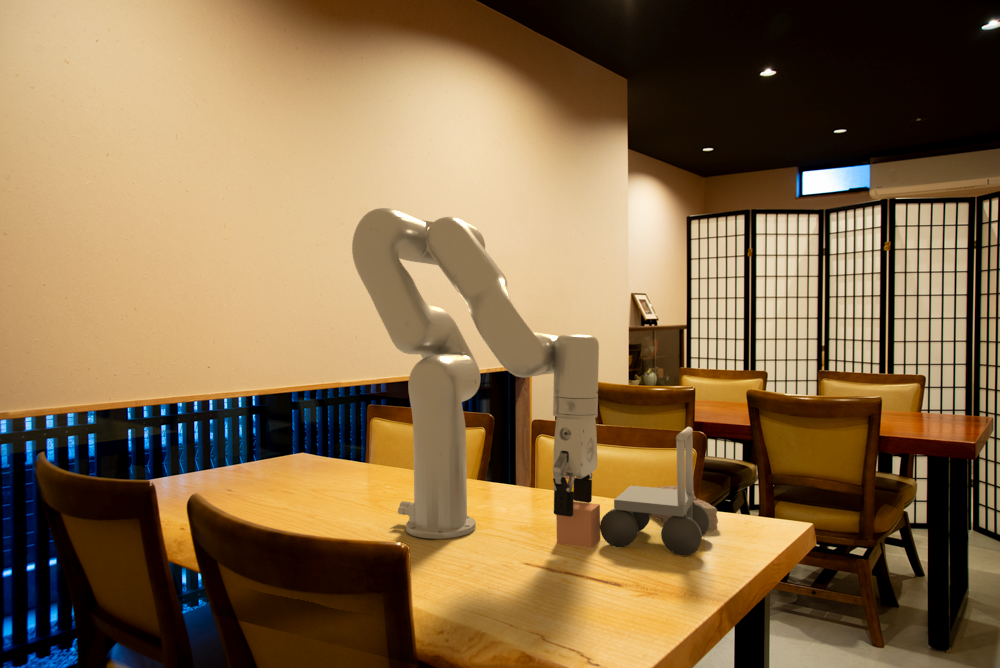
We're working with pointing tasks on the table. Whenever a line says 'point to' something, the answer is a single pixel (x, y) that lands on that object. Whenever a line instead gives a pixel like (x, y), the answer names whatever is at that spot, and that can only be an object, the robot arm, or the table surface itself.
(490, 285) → the robot arm
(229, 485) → the table surface
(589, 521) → the block
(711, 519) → the brick
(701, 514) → the trolley
